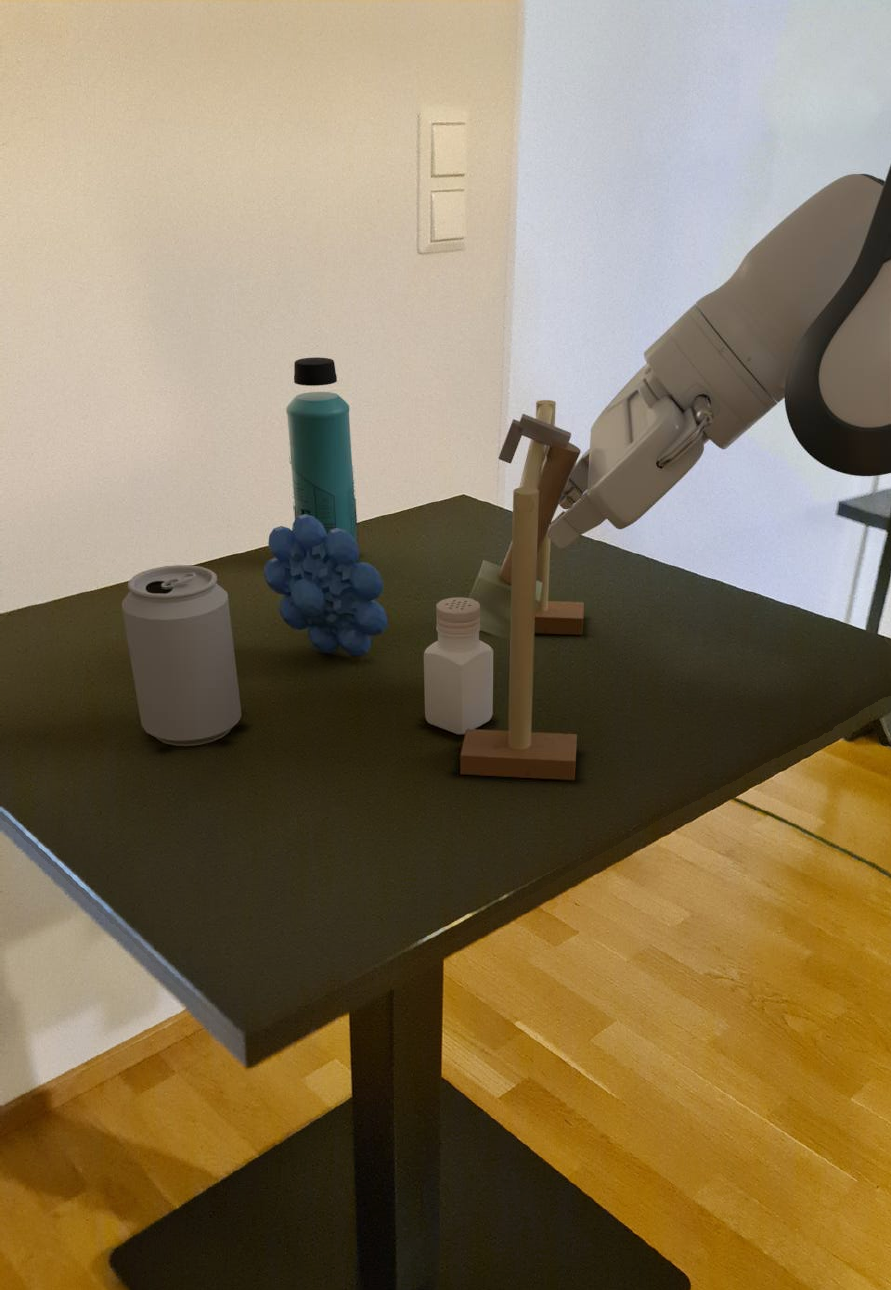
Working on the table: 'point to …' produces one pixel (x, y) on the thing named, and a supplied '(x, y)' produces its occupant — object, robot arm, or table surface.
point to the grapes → (325, 586)
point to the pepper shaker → (458, 669)
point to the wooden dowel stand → (527, 645)
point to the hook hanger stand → (554, 477)
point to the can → (182, 654)
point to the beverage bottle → (321, 449)
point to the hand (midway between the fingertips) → (555, 519)
